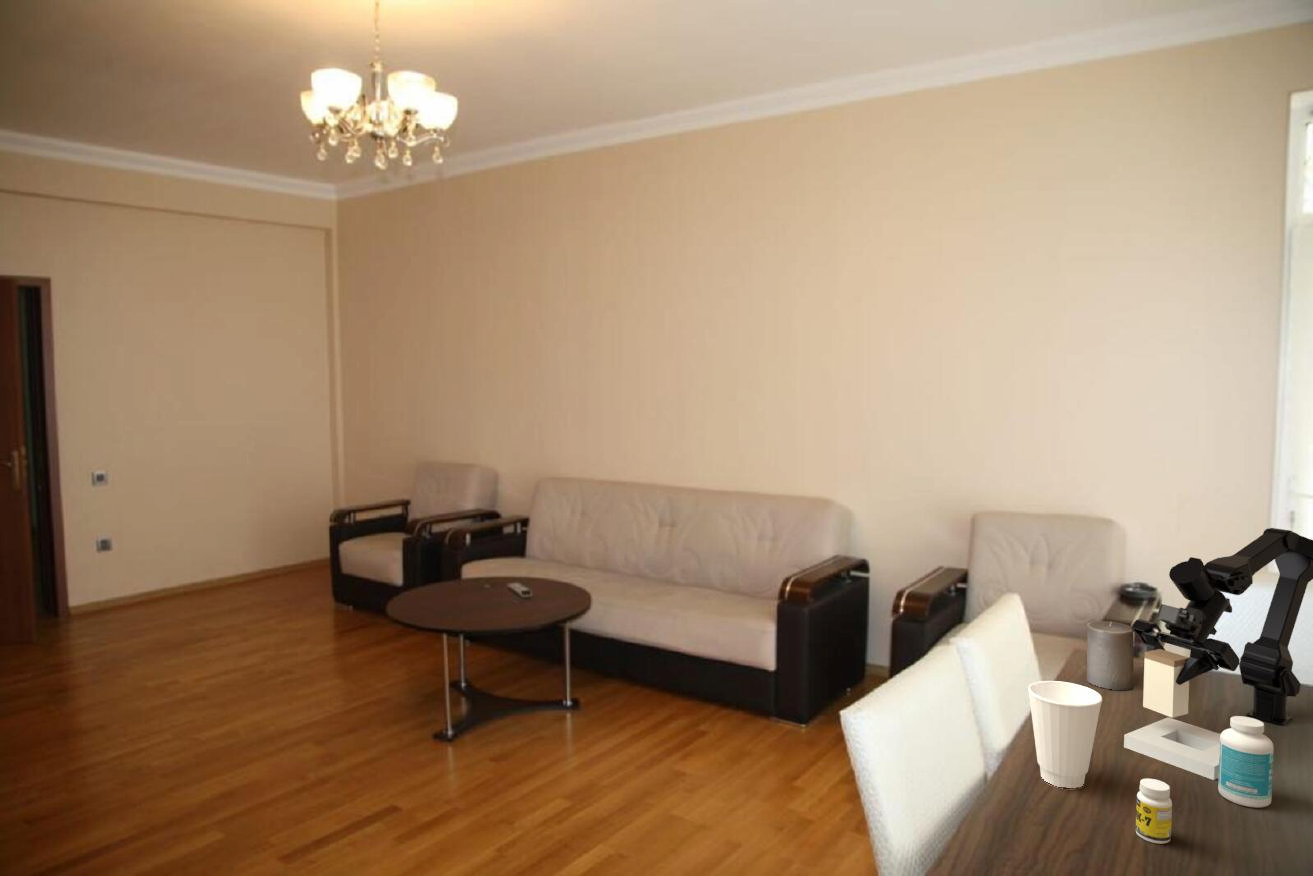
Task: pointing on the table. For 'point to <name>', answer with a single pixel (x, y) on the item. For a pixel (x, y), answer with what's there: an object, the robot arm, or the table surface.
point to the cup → (1064, 730)
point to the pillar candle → (1110, 655)
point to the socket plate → (1178, 746)
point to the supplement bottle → (1154, 811)
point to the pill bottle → (1246, 763)
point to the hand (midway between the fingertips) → (1161, 678)
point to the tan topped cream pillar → (1165, 683)
